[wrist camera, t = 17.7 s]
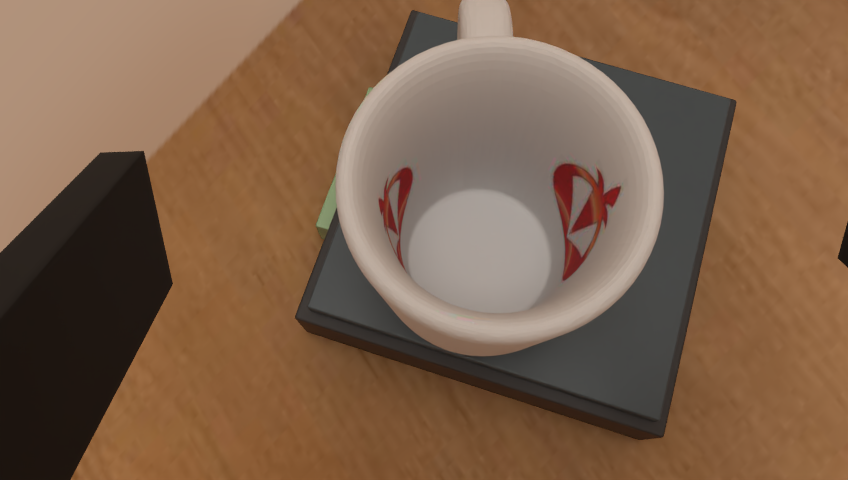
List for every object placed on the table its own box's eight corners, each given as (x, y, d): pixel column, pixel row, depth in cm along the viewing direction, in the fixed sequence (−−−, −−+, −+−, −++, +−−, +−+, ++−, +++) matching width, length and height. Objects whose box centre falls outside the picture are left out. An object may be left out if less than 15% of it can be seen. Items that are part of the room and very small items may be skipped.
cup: (363, 89, 27) (339, -60, 19) (577, 86, 27) (638, -64, 19) (359, 383, 24) (329, 344, 16) (603, 380, 24) (687, 339, 16)
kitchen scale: (290, 326, 28) (274, 309, 25) (399, 41, 31) (396, -5, 28) (641, 440, 26) (670, 437, 23) (711, 130, 30) (744, 92, 27)
